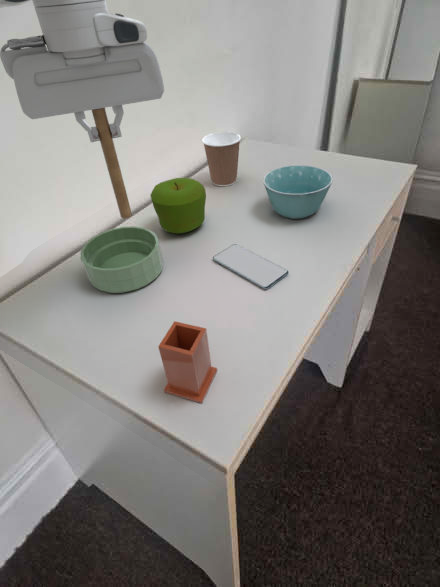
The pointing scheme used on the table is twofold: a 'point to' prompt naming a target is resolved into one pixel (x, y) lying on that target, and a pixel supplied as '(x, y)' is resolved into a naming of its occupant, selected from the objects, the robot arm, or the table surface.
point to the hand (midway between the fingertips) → (106, 138)
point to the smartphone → (251, 266)
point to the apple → (179, 204)
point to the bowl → (297, 189)
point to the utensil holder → (187, 361)
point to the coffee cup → (222, 157)
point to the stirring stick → (112, 161)
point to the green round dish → (122, 259)
